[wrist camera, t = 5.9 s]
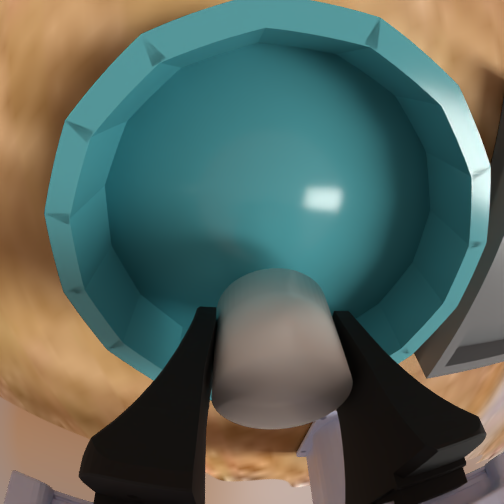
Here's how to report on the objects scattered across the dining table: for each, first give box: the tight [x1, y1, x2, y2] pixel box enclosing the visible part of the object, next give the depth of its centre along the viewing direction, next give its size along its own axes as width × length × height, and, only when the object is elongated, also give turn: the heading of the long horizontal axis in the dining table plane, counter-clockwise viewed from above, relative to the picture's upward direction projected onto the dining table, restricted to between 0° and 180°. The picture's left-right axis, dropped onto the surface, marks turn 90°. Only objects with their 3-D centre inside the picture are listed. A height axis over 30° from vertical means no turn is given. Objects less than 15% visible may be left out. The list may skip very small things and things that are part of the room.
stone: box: [211, 268, 353, 429], centre depth 11 cm, size 4×4×4 cm
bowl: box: [44, 0, 491, 401], centre depth 12 cm, size 16×16×4 cm
